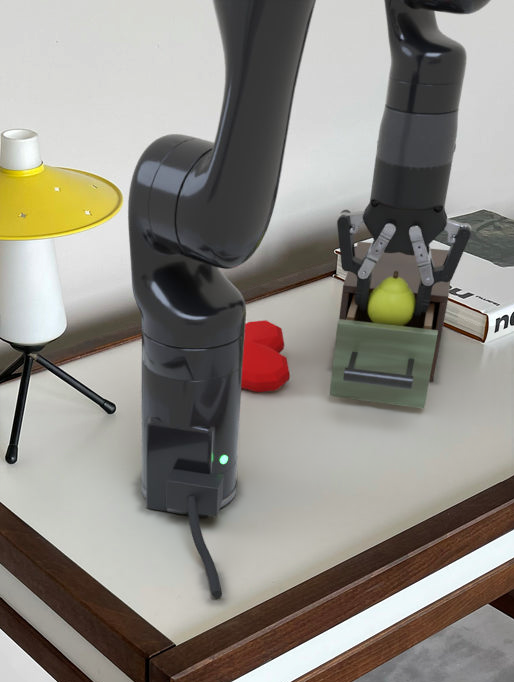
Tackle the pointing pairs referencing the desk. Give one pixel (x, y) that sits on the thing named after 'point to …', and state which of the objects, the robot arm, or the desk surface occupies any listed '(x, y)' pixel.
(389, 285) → the pear
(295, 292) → the desk surface
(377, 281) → the cabinet
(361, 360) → the drawer
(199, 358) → the robot arm
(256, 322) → the heart
